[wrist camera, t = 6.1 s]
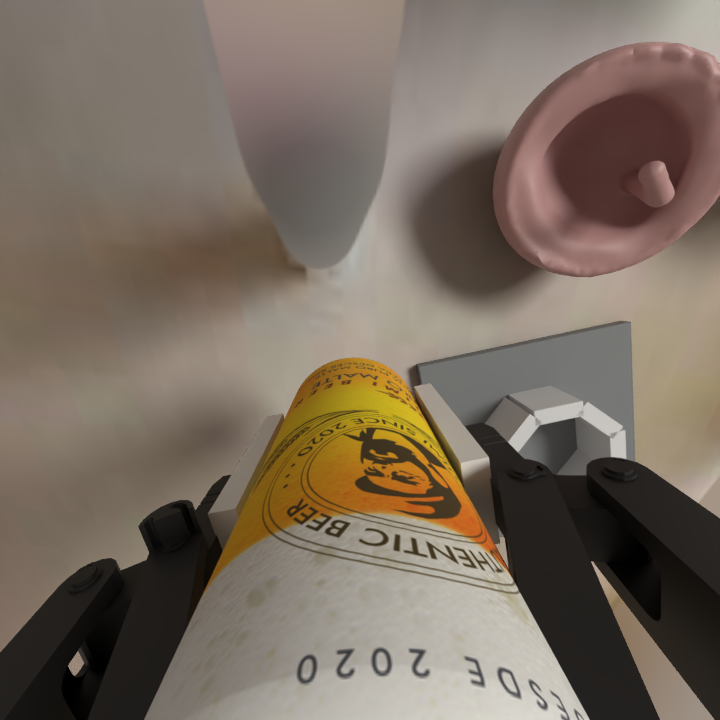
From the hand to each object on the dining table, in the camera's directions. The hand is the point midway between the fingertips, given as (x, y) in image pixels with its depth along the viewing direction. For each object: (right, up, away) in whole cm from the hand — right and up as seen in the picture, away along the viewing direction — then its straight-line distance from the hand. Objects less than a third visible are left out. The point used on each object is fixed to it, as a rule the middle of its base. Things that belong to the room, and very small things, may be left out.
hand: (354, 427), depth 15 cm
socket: (+16, -4, +16) cm, 23 cm away
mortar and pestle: (+15, +16, +11) cm, 24 cm away
